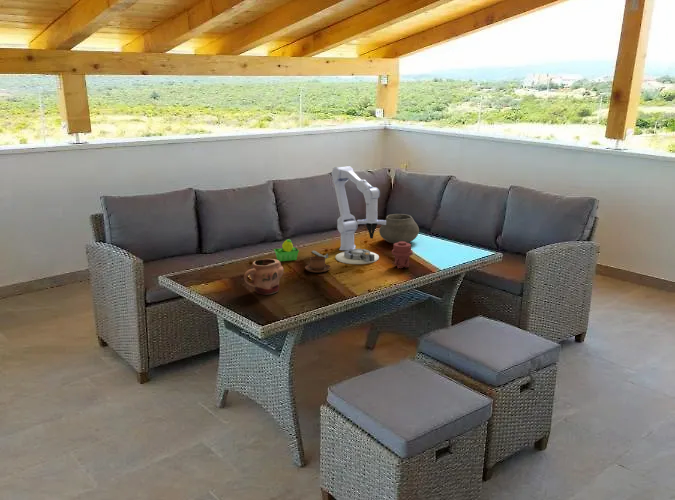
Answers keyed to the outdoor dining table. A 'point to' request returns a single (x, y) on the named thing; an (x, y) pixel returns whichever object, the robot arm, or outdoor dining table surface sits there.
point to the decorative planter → (265, 276)
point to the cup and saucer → (317, 264)
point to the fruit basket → (287, 252)
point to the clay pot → (399, 228)
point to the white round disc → (342, 259)
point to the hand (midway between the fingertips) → (371, 238)
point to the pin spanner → (320, 254)
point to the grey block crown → (363, 256)
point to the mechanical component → (402, 254)
